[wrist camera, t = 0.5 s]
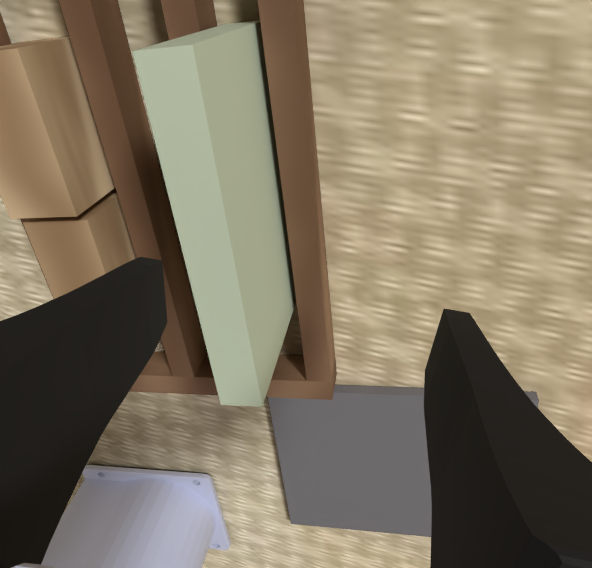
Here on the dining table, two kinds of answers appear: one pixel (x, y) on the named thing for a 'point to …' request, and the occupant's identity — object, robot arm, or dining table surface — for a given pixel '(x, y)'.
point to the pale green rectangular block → (225, 196)
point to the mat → (357, 459)
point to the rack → (153, 200)
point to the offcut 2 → (81, 244)
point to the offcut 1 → (48, 133)
